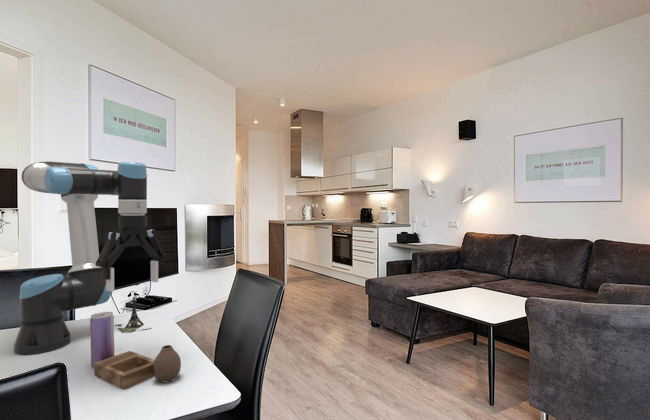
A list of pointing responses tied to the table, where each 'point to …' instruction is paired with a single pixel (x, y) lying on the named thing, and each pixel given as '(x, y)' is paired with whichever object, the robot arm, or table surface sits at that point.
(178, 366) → the vase
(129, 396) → the table surface
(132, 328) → the eiffel tower figurine
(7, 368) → the table surface
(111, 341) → the beverage can
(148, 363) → the wooden recessed tray
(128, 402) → the table surface
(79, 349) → the table surface
